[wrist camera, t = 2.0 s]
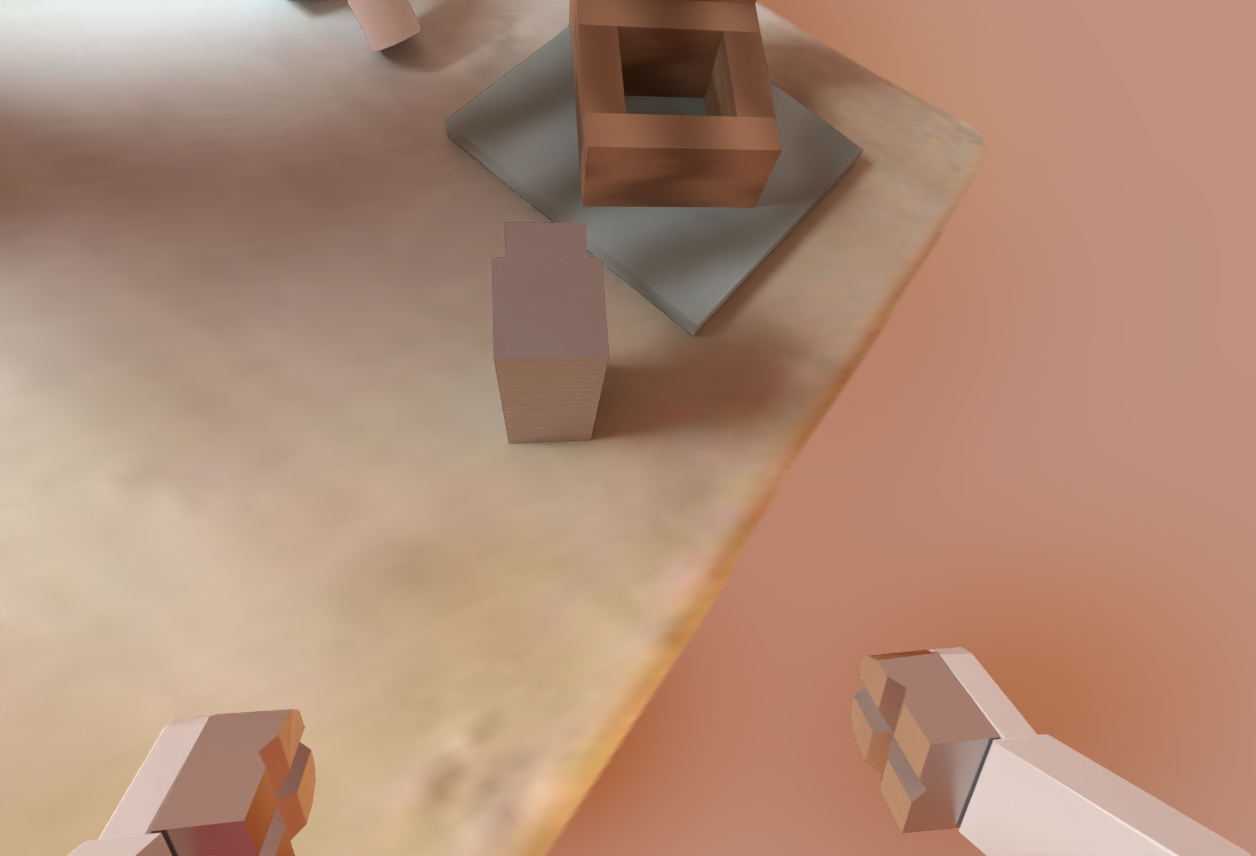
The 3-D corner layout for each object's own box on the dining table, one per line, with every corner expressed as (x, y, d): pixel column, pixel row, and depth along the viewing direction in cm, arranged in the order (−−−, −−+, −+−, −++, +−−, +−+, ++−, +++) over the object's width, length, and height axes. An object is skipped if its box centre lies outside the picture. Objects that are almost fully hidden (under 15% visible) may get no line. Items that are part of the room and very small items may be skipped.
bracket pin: (508, 443, 32) (493, 358, 23) (506, 340, 34) (491, 222, 25) (590, 440, 33) (609, 355, 23) (584, 339, 35) (598, 222, 25)
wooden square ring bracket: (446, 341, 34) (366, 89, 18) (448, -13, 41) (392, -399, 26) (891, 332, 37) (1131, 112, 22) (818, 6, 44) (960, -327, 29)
